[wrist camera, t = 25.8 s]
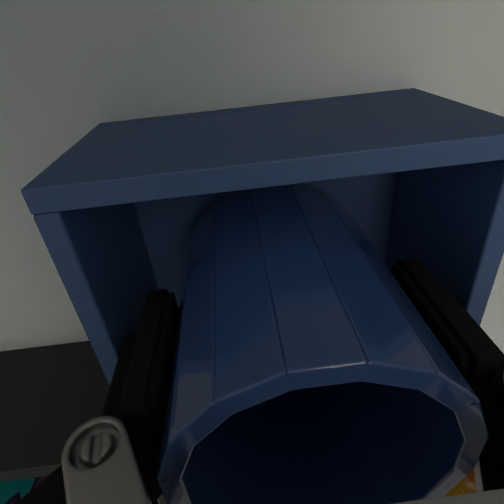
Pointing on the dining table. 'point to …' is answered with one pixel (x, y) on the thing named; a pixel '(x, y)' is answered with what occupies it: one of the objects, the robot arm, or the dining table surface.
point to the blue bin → (269, 175)
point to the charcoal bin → (46, 405)
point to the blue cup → (306, 367)
